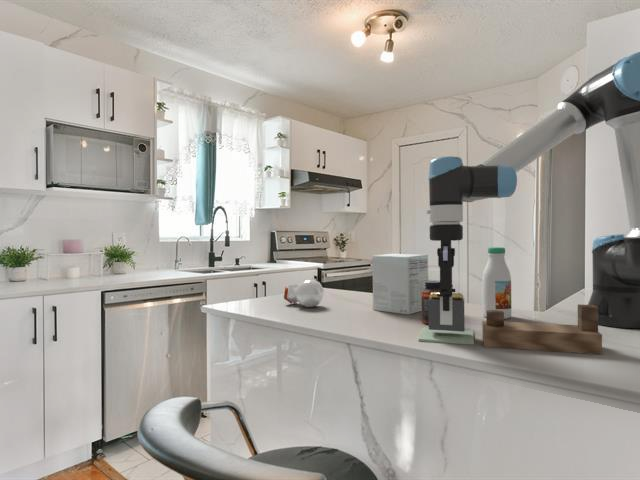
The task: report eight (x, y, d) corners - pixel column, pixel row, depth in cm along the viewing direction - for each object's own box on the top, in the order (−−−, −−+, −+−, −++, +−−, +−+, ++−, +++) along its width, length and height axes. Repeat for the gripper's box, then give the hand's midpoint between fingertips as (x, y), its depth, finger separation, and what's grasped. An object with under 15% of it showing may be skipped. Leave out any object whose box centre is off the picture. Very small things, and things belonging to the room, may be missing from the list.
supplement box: (429, 308, 137) (429, 254, 137) (408, 315, 127) (408, 256, 127) (394, 304, 146) (393, 253, 146) (371, 310, 136) (371, 255, 136)
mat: (472, 332, 105) (472, 330, 105) (474, 344, 94) (474, 342, 94) (422, 329, 109) (422, 327, 109) (418, 341, 98) (418, 338, 98)
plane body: (590, 344, 93) (590, 303, 93) (601, 354, 86) (602, 309, 85) (482, 337, 100) (482, 299, 100) (484, 346, 92) (484, 305, 92)
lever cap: (464, 326, 103) (464, 291, 102) (464, 331, 98) (464, 295, 98) (430, 324, 105) (429, 290, 105) (428, 329, 100) (428, 293, 100)
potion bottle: (319, 313, 138) (289, 313, 149) (334, 293, 144) (304, 294, 155) (304, 292, 135) (275, 293, 146) (320, 272, 141) (291, 274, 151)
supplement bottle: (445, 325, 113) (445, 283, 112) (422, 325, 114) (421, 282, 114) (443, 321, 118) (443, 280, 118) (421, 320, 120) (421, 280, 119)
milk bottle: (484, 319, 120) (483, 248, 120) (480, 313, 128) (480, 246, 127) (513, 320, 118) (513, 247, 118) (508, 314, 126) (508, 246, 125)
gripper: (432, 224, 111) (432, 313, 111) (426, 223, 94) (427, 329, 94) (462, 223, 108) (463, 315, 109) (462, 223, 91) (463, 331, 92)
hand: (446, 321), depth 101 cm, fingers closed on lever cap, 5 cm apart
